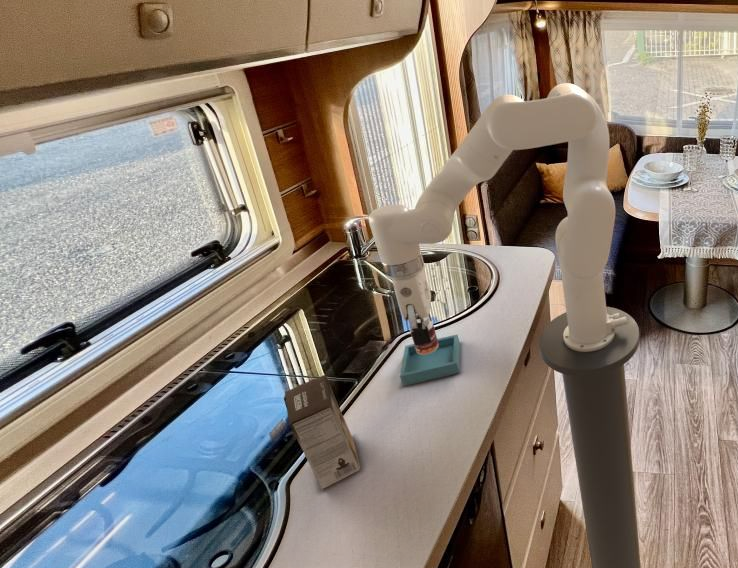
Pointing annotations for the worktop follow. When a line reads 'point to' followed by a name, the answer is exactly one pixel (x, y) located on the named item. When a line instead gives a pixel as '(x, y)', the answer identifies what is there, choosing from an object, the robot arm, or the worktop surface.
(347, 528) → the worktop surface
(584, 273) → the robot arm
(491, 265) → the worktop surface
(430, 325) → the pill bottle
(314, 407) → the coffee box
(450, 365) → the medicine tray
